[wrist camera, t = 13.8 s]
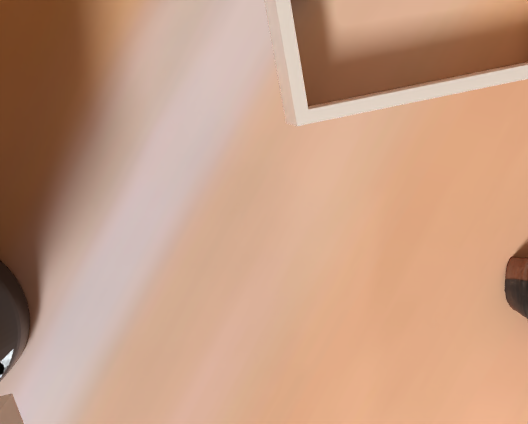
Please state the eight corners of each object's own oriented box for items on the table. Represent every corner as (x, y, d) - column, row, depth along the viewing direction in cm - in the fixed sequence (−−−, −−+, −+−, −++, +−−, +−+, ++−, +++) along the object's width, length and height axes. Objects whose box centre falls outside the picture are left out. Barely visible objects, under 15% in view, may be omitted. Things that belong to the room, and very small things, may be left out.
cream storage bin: (286, 123, 37) (297, 126, 32) (260, -18, 35) (268, -41, 29) (544, 70, 39) (596, 64, 33) (539, -70, 36) (595, -101, 31)
